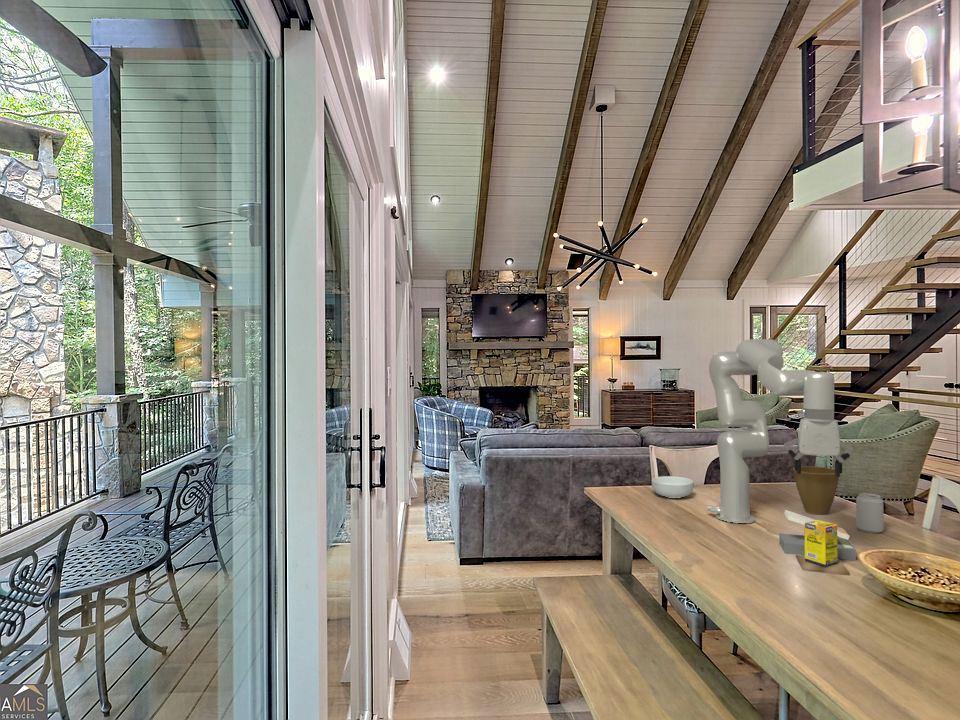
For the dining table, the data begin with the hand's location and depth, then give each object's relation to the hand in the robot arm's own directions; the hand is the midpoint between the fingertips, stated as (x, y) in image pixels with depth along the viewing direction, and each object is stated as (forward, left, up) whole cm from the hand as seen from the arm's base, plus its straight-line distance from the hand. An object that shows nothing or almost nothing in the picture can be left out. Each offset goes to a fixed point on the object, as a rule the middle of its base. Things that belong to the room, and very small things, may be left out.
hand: (817, 474), depth 162 cm
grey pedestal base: (+1, +7, -24) cm, 25 cm away
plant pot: (+10, +56, -24) cm, 61 cm away
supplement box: (0, -6, -24) cm, 24 cm away
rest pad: (0, -6, -24) cm, 25 cm away
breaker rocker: (+1, +7, -16) cm, 17 cm away
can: (+22, +36, -24) cm, 48 cm away
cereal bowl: (-41, +64, -24) cm, 80 cm away
